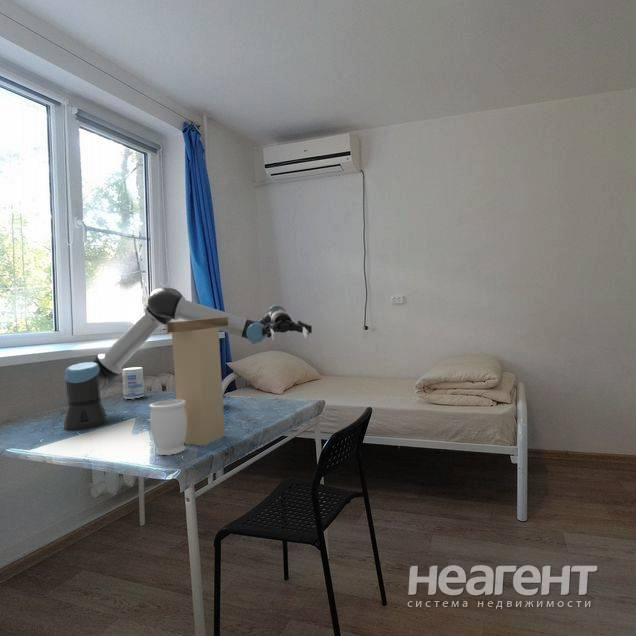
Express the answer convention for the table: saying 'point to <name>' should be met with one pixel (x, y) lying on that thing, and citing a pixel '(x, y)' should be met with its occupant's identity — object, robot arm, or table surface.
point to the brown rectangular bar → (196, 324)
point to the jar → (168, 426)
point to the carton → (199, 383)
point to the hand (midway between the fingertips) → (290, 336)
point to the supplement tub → (133, 382)
